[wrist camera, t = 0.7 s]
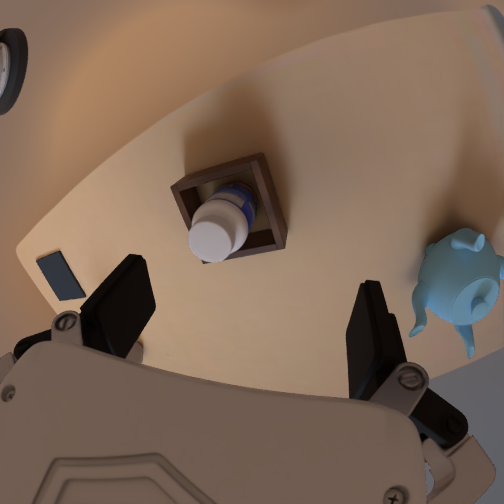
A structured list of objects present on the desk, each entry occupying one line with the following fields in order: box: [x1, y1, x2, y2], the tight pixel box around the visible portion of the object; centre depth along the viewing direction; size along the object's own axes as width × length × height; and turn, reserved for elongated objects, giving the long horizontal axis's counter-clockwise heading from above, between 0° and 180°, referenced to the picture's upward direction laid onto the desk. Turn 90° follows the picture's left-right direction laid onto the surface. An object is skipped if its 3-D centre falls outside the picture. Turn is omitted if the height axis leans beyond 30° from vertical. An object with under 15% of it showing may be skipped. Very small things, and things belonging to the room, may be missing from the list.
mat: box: [36, 251, 86, 301], centre depth 46 cm, size 10×10×1 cm
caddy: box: [170, 152, 288, 264], centre depth 31 cm, size 10×10×4 cm
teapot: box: [409, 228, 504, 359], centre depth 26 cm, size 13×13×10 cm
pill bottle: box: [188, 182, 259, 262], centre depth 28 cm, size 5×5×10 cm
